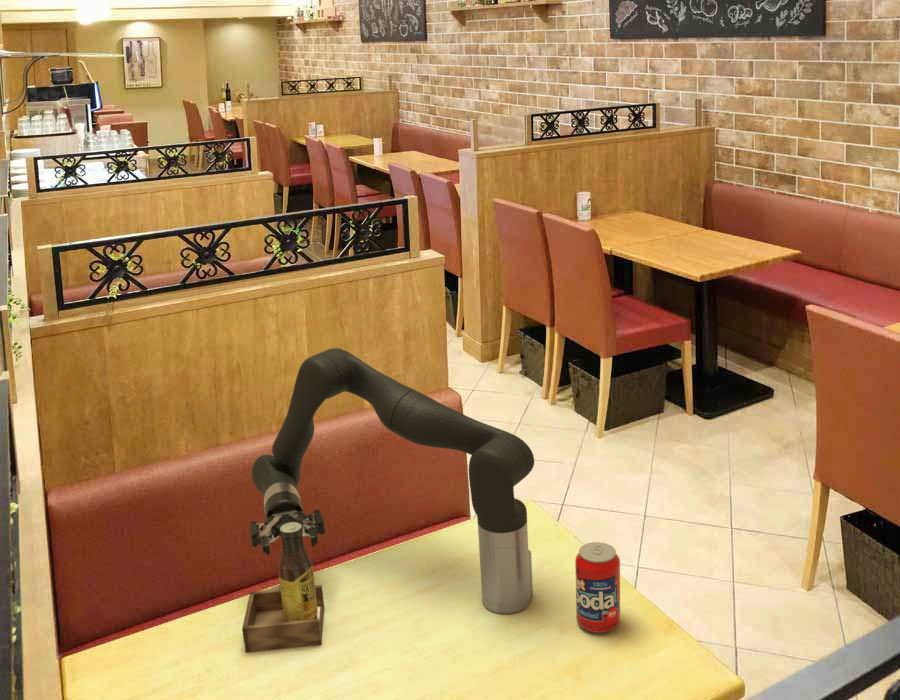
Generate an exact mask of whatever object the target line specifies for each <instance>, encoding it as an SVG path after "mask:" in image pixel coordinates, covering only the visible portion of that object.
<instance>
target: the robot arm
mask: <svg viewBox="0 0 900 700" xmlns="http://www.w3.org/2000/svg"><path fill="white" fill-rule="evenodd" d="M344 392H346V393H350V394H353V395H355V396H357V397H360V398H361V399H363V400H365V401H366V402H368V403H369V404H370V405H371V407H372V408H373V410H374V412H375V414H376V416H377V417H378V419H379V421H380V422H381V423H382V425H383V426H384V427H385V428H386V429H388V430H389V431H391V432H393V433H394V434H396V435H398V436H399V437H401V438H403V439H405V440H407V441H409V442H411V443H413V444H416V445H420V446H425V447H431V448H438V449H446V450H447V449H449V450H455V451H459V452H463V453H466V454H468V455H470V459H469V463H468V478H469V479H468V480H469V487H470V498H471V504H472V509H473V511H474V513H475V515H476V519H477V532H478V533H477V534H478V535H477V537H478V548H479V549H478V550H479V566H480V567H479V569H480V570H479V571H480V582H481V583H480V584H481V586H480V587H481V601H482V605H483V606H484V607H485V608H486V609H487V610H489V611H490V612H493V613H496V614H501V615H503V614H505V615H506V614H508V615H509V614H513V613H514V614H515V613H518V612H521V611H523V610H525V609H526V608H527V607H528V606H529V605H530V602H531V596H532V595H533V594H534V589H533V566H532V564H533V563H532V551H531V550H530V549H529V534H528V531H529V530H528V511H527V507H526V504H525V503H524V502H522V501H521V500H520V499H518V498H515V491H514V490H515V489H514V487H515V486H516V485H517V484H519V483H520V482H521V481H523V480H524V479H525V478H526V477H527V476H528V475H530V473H531V472H532V470H533V468H534V465H535V458H534V457H535V455H534V453H533V450H532V449H531V448H530V447H529V446H530V445H528V444H527V442H525V441H524V440H523V439H522V438H520V437H519V436H517V435H515V434H513V433H511V432H508V431H506V430H503V429H501V428H498V427H494V426H492V425H490V424H487V423H484V422H481V421H480V420H476V419H475V418H472V417H470V416H468V415H465V414H463V413H461V412H459V411H457V410H455V409H453V408H451V407H449V406H447V405H445V404H443V403H441V402H439V401H437V400H435V399H433V398H432V397H430V396H428V395H426V394H424V393H422V392H419V391H418V390H416V389H414V388H412V387H410V386H407V385H405V384H403V383H402V382H400V381H397V380H396V379H394V378H392V377H390V376H388V375H386V374H385V373H382V372H380V371H379V370H377V369H376V368H374V367H372V366H371V365H369V364H367V363H366V362H365V361H363V360H362V359H360V357H359V358H358V357H357V356H356V355H354V354H352V353H351V352H349V351H347V350H345V349H342V348H339V347H335V348H333V347H332V348H329V349H328V348H327V349H326V350H323V351H321V352H319V353H317V354H316V353H315V354H313V355H311V356H309V357H308V358H306V359H304V360H303V362H302V363H301V365H300V367H299V369H298V371H297V376H296V379H295V383H294V387H293V391H292V395H291V397H290V398H291V399H290V401H289V402H290V403H289V406H288V410H287V413H286V416H285V418H284V421H283V423H282V426H281V427H280V430H279V431H278V433H277V436H276V437H275V439H274V442H273V444H272V445H271V446H272V448H271V452H272V454H262V455H260V456H259V457H257V458H256V459H255V460H254V462H253V464H252V467H251V477H252V480H253V483H254V485H255V487H256V488H257V490H258V491H259V493H261V495H263V507H264V508H263V509H264V511H263V512H264V514H265V515H264V516H265V520H264V522H262V523H258V522H257V520H252V521H250V522H249V523H250V524H249V525H250V529H249V532H250V533H249V535H250V542H251V546H252V547H253V548H254V547H259V545H261V552H262V554H265V555H266V556H268V555H271V550H270V544H271V543H274V542H276V541H277V540H278V539H279V538H282V537H281V535H280V527H281V526H282V525H284V524H286V523H290V522H297V523H300V524H301V525H302V530H303V533H302V537H309V539H310V540H309V541H310V545H311V547H313V548H314V547H316V544H318V543H319V537H318V535H324V534H325V535H326V529H325V528H326V527H325V521H324V518H323V515H322V513H321V511H320V509H314V510H313V513H311V514H306V513H305V512H304V510H303V509H304V508H303V503H302V502H301V501H302V500H301V496H300V495H299V492H298V489H297V486H298V485H299V483H300V479H301V469H302V463H303V462H302V461H303V459H304V456H305V453H306V452H307V451H308V448H309V446H310V444H311V442H312V440H313V438H314V434H315V421H314V416H315V414H316V412H317V411H318V409H319V408H320V407H321V405H322V404H323V403H324V401H326V400H328V399H331V398H333V397H335V396H337V395H340V394H342V393H344Z"/></svg>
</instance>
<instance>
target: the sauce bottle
mask: <svg viewBox="0 0 900 700" xmlns="http://www.w3.org/2000/svg"><path fill="white" fill-rule="evenodd" d="M302 533H303V530H302V525H301V524H300V523H297V522H290V523H286V524H284V525H282V526H281V527H280V535H281V537H280V538H281V543H282V544H281V545H282V546H281V547H282V552H281V553H280V555H279V558H278V579H279V586H280V588H279V589H281V596H282V605H283V613H284V618H285V622H290V621H300V620H310V619H317V613H318V610H317V601H316V592H315V586H316V585H315V576H314V574H315V573H314V566H313V562H312V559H311V558H310V555H309V554H308V553H307V549H305V546H304V539H303V536H302Z"/></svg>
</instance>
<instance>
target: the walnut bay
mask: <svg viewBox="0 0 900 700" xmlns="http://www.w3.org/2000/svg"><path fill="white" fill-rule="evenodd" d="M315 592H316V601H317V610H318V613H317V619H310V620H300V621H290V622H285V618H284V613H283V605H282V596H281V588H279V589H269V590H259V591H250V592H249V597H248V599H247V605H246V609H245V615H244V617H243V619H244V620H243V623H242V627H241V628H242V629H241V632H242V637H243V641H244V642H243V644H244V650H245V653H254V652H261V651H262V652H264V651H272V650H282V649H283V650H284V649H291V648H302V647H311V646H313V647H314V646H321V645H322V643H323V642H322V640H323V629H324V620H325V619H324V616H325V601H324V594H323V593H324V591H323V585H322V584H319V585H315Z"/></svg>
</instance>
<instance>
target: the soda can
mask: <svg viewBox="0 0 900 700" xmlns="http://www.w3.org/2000/svg"><path fill="white" fill-rule="evenodd" d="M574 562H575V566H574V567H575V606H576V614H575V615H576V621H577V623H578V625H579V626H580V627H581V628H583V629H584V630H586V631H588V632H592V633H605V632H606V633H607V632H610V631H613V630H614V629H616V628H617V627H618V626H619V624H620V621H621V559H620V556H619V555H618V554H617V550H616V548H615V547H613V546H612V545H611V544H609V543H605V542H600V541H599V542H598V541H597V542H595V541H593V542H587V543H585V544H583V545H581V547H580V548H579V550H578V553H577V554H576V556H575V561H574Z"/></svg>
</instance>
